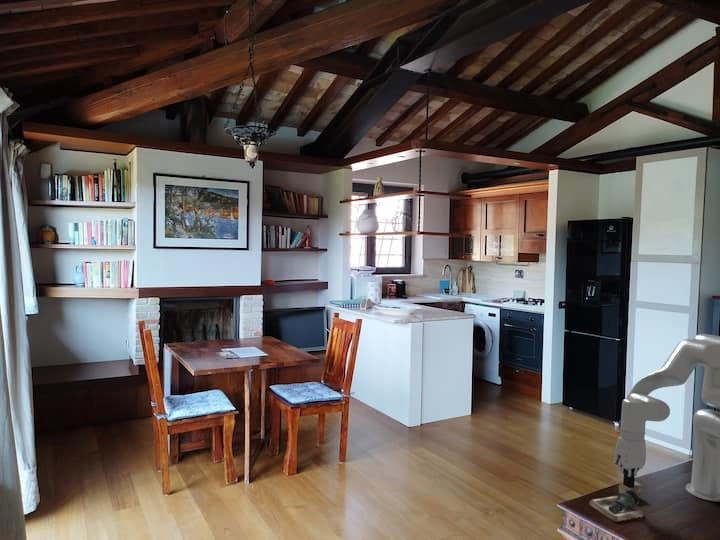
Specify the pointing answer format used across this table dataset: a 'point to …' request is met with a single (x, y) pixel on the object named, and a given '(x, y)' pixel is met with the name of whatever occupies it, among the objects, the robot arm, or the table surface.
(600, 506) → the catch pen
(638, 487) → the oak block
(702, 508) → the table surface
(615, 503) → the grey chess piece
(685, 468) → the table surface
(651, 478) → the table surface
